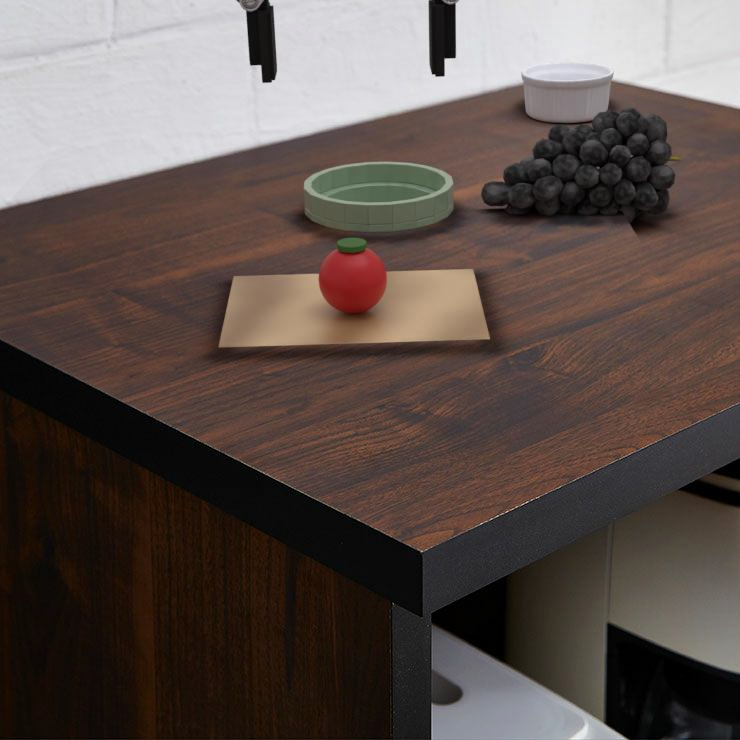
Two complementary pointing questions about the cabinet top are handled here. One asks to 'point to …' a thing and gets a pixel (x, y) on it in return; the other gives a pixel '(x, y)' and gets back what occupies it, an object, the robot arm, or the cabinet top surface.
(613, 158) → the fruit
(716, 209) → the cabinet top surface
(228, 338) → the serving board
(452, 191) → the bowl
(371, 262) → the tomato
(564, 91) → the ramekin
